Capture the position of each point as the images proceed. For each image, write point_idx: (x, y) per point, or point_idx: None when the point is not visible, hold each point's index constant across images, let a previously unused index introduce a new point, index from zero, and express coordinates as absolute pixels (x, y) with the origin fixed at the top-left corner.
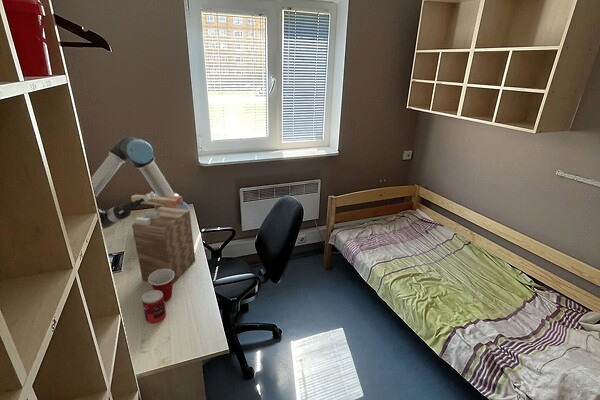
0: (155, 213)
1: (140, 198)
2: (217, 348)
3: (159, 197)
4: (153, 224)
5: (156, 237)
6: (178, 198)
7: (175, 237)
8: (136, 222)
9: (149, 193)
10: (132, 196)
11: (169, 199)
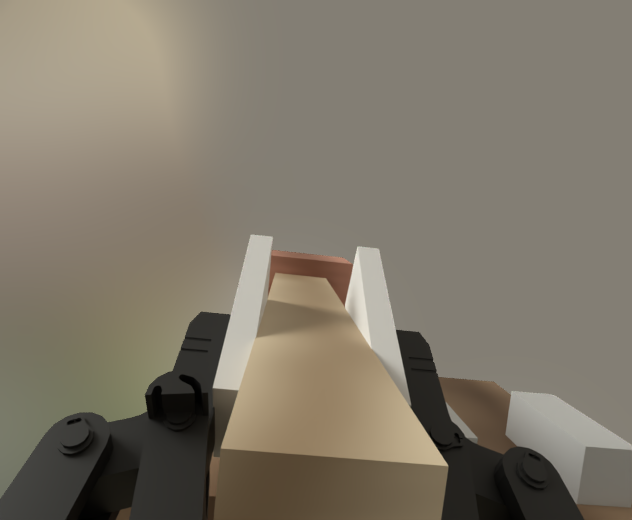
0: None
1: (397, 351)
2: None
3: (283, 289)
4: (501, 420)
5: None
6: (301, 253)
7: None
8: (624, 481)
9: (266, 273)
10: (415, 442)
11: (337, 260)
